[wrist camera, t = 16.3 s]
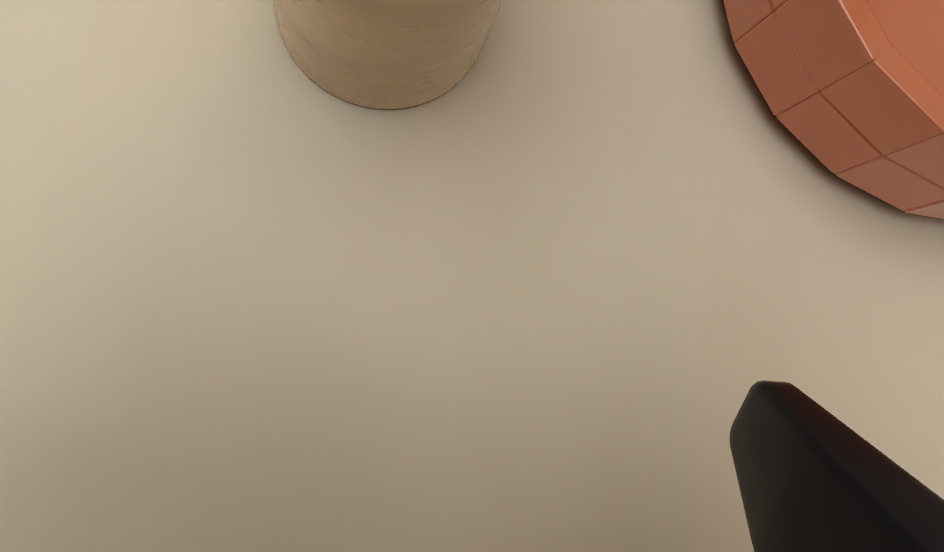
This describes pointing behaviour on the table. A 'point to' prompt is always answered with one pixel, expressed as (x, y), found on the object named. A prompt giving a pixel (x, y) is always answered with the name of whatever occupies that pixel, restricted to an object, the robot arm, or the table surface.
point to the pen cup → (385, 46)
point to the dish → (855, 88)
